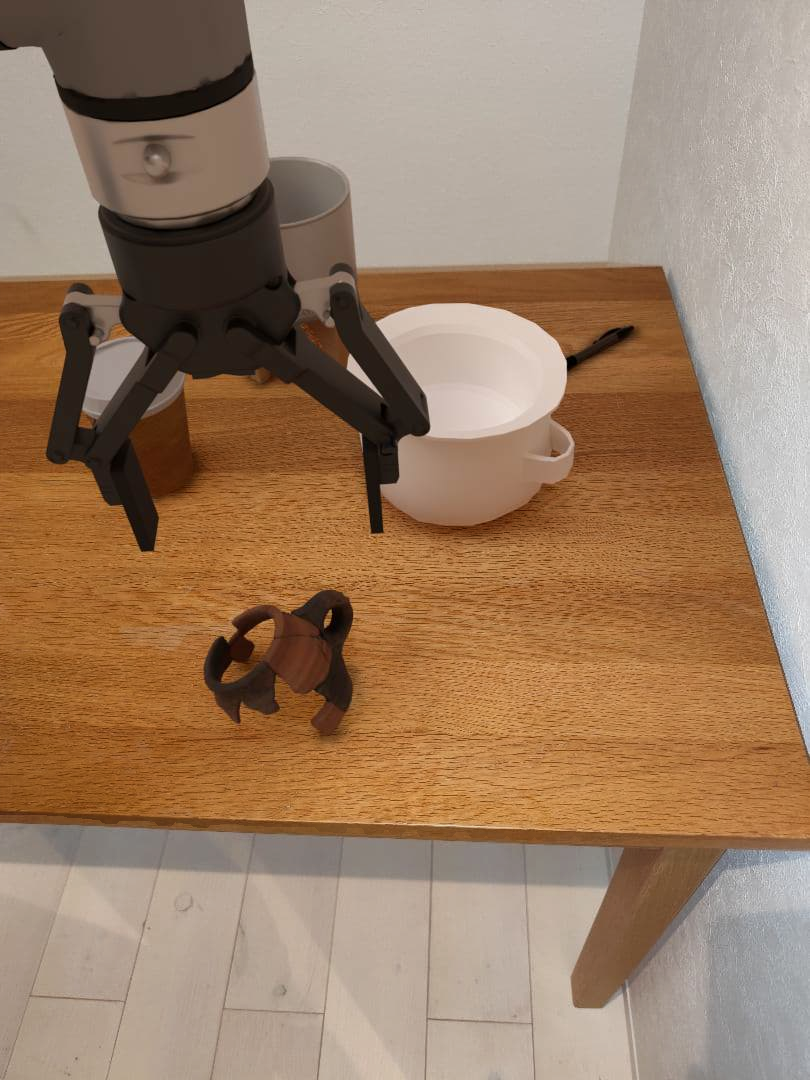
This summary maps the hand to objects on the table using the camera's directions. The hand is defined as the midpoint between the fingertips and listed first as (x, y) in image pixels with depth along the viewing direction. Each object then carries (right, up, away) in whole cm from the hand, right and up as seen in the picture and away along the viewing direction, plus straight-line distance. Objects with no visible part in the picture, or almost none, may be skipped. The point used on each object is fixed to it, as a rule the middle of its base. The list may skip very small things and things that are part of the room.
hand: (263, 526), depth 54 cm
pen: (+27, +18, +38) cm, 50 cm away
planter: (-2, +19, +40) cm, 45 cm away
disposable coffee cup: (-14, +5, +29) cm, 32 cm away
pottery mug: (0, -12, +13) cm, 18 cm away
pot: (+13, +5, +27) cm, 31 cm away
